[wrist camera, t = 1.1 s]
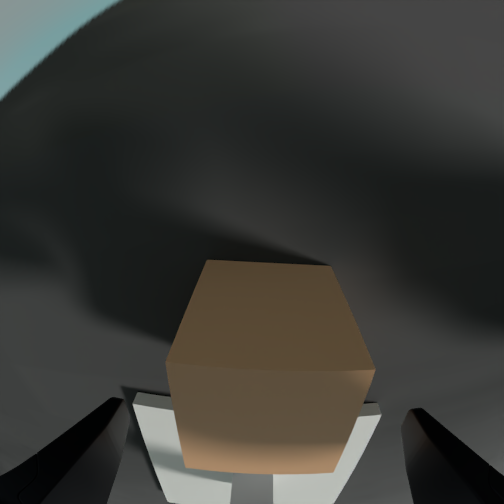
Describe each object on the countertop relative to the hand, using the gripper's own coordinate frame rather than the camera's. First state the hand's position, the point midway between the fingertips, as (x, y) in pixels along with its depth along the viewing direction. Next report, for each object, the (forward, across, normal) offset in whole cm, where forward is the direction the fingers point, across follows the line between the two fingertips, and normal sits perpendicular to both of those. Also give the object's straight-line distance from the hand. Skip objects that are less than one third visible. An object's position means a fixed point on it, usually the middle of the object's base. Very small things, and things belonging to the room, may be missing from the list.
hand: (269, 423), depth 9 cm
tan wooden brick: (+6, 0, 0) cm, 6 cm away
